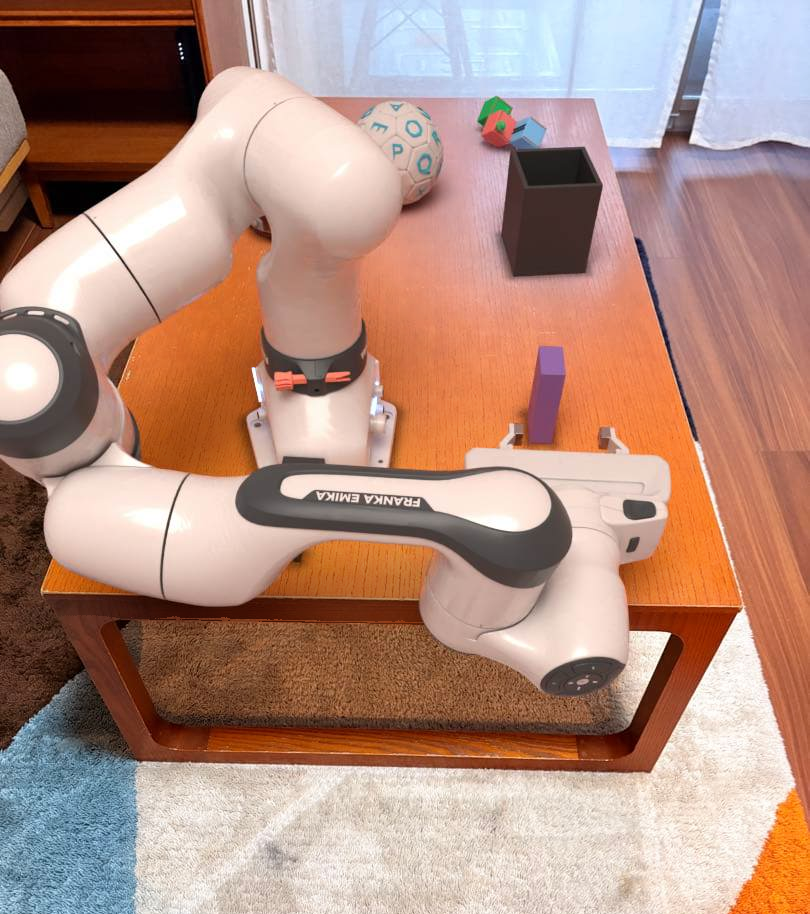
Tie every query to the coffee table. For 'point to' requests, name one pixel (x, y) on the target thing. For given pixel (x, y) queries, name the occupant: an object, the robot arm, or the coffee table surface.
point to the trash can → (550, 210)
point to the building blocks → (508, 126)
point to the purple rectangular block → (546, 394)
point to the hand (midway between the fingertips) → (560, 429)
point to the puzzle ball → (407, 144)
